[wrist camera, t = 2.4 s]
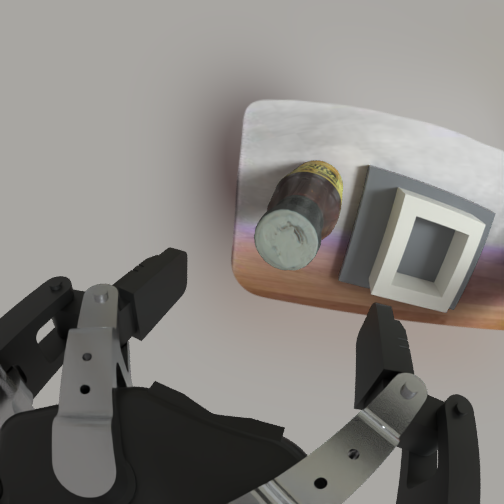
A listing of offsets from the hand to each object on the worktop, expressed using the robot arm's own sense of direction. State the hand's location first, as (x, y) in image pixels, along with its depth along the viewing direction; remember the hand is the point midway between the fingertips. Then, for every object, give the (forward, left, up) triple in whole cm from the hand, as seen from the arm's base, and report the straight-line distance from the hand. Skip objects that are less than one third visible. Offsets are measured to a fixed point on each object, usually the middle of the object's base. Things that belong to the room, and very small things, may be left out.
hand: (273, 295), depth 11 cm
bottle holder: (-16, +4, -26) cm, 30 cm away
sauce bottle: (0, 0, -26) cm, 26 cm away
